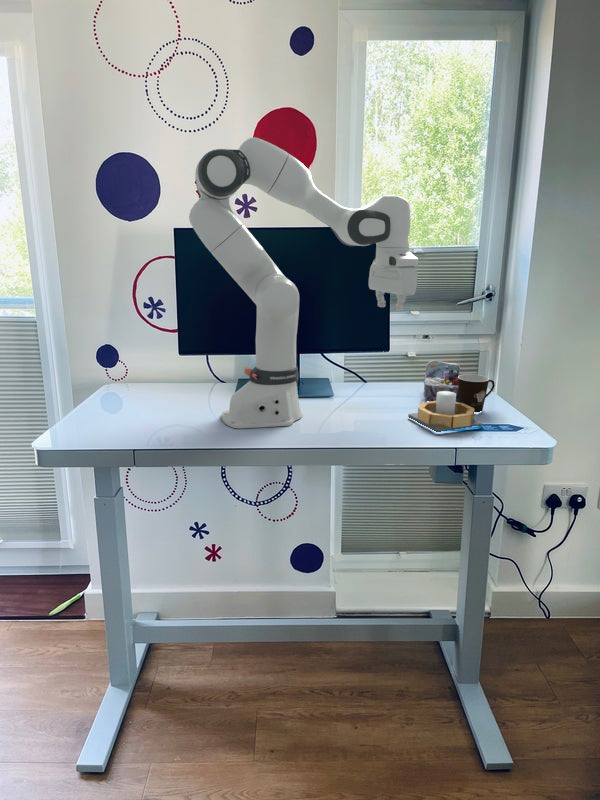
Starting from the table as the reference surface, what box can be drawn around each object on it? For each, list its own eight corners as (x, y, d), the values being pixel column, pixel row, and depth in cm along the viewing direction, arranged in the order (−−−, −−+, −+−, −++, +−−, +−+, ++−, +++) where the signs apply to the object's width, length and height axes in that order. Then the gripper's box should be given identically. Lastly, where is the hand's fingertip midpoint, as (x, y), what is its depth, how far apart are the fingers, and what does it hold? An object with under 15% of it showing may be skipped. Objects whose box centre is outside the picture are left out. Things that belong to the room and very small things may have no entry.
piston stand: (437, 435, 149) (439, 403, 147) (408, 419, 162) (409, 389, 159) (482, 428, 154) (485, 397, 152) (450, 413, 166) (452, 384, 164)
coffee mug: (459, 416, 164) (462, 381, 161) (451, 406, 173) (454, 374, 170) (500, 416, 164) (504, 381, 161) (491, 407, 172) (494, 374, 170)
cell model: (458, 357, 188) (473, 374, 169) (455, 389, 191) (469, 409, 172) (417, 356, 188) (428, 373, 169) (415, 388, 192) (425, 408, 173)
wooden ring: (438, 430, 148) (439, 419, 148) (409, 414, 161) (410, 403, 160) (483, 423, 153) (484, 412, 152) (452, 408, 166) (452, 398, 165)
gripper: (364, 256, 167) (362, 305, 171) (401, 260, 149) (398, 314, 153) (383, 256, 169) (381, 304, 173) (422, 259, 151) (419, 313, 155)
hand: (389, 309), depth 163 cm, fingers open, 8 cm apart
